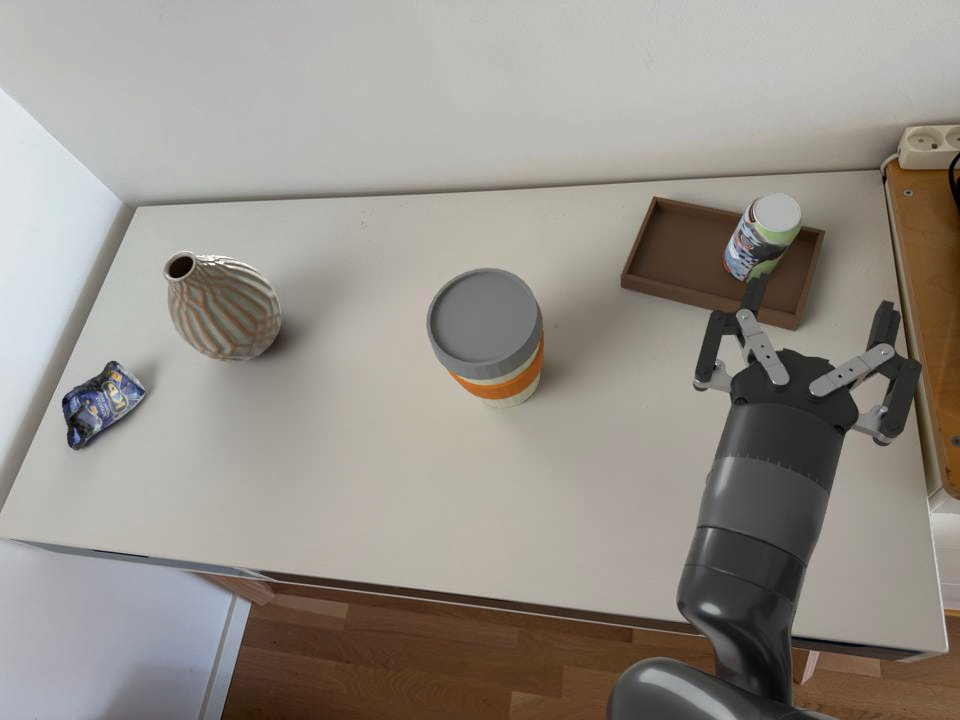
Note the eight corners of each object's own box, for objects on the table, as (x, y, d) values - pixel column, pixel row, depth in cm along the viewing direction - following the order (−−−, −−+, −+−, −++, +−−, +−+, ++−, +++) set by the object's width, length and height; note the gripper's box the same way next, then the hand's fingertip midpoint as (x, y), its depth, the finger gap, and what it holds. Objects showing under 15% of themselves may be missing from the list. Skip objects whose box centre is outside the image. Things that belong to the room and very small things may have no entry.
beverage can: (729, 241, 83) (743, 177, 73) (789, 256, 80) (813, 191, 70) (713, 281, 81) (725, 220, 70) (775, 297, 78) (797, 237, 68)
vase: (284, 281, 96) (218, 205, 81) (307, 350, 90) (240, 281, 74) (204, 320, 96) (123, 251, 81) (221, 392, 90) (137, 331, 74)
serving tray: (820, 243, 81) (826, 230, 79) (794, 331, 77) (799, 320, 74) (652, 208, 88) (653, 195, 86) (620, 287, 84) (620, 276, 82)
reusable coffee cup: (551, 423, 78) (534, 370, 65) (450, 420, 81) (414, 367, 68) (558, 331, 83) (544, 264, 70) (463, 331, 86) (432, 266, 73)
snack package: (133, 451, 88) (155, 372, 93) (92, 436, 83) (118, 354, 88) (71, 456, 93) (95, 380, 97) (28, 443, 87) (56, 363, 92)
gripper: (904, 511, 39) (950, 288, 44) (665, 433, 44) (732, 241, 49) (865, 537, 45) (909, 339, 50) (662, 466, 50) (721, 294, 56)
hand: (822, 291), depth 50 cm, fingers open, 8 cm apart
